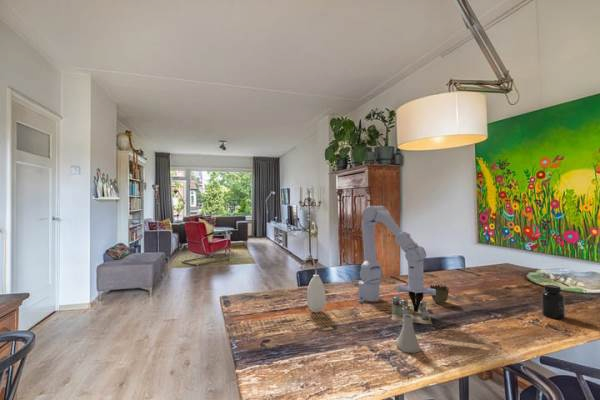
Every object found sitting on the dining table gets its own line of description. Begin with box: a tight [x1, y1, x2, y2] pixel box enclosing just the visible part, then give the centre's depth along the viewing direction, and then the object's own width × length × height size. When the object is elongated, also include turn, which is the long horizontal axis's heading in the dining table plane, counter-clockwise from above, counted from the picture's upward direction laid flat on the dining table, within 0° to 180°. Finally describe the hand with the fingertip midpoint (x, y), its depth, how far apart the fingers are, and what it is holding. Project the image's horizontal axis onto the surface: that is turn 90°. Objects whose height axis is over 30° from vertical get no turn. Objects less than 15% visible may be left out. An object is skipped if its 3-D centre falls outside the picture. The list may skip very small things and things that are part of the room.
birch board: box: [391, 302, 433, 325], centre depth 115 cm, size 14×19×1 cm
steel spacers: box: [392, 295, 430, 320], centre depth 116 cm, size 13×16×3 cm
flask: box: [396, 314, 422, 354], centre depth 90 cm, size 7×7×10 cm
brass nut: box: [402, 305, 414, 315], centre depth 115 cm, size 4×4×2 cm
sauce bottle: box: [306, 270, 327, 314], centre depth 119 cm, size 8×8×18 cm
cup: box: [429, 284, 450, 305], centre depth 126 cm, size 8×7×8 cm
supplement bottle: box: [541, 284, 566, 320], centre depth 113 cm, size 7×7×12 cm
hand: (415, 311), depth 114 cm, fingers closed
